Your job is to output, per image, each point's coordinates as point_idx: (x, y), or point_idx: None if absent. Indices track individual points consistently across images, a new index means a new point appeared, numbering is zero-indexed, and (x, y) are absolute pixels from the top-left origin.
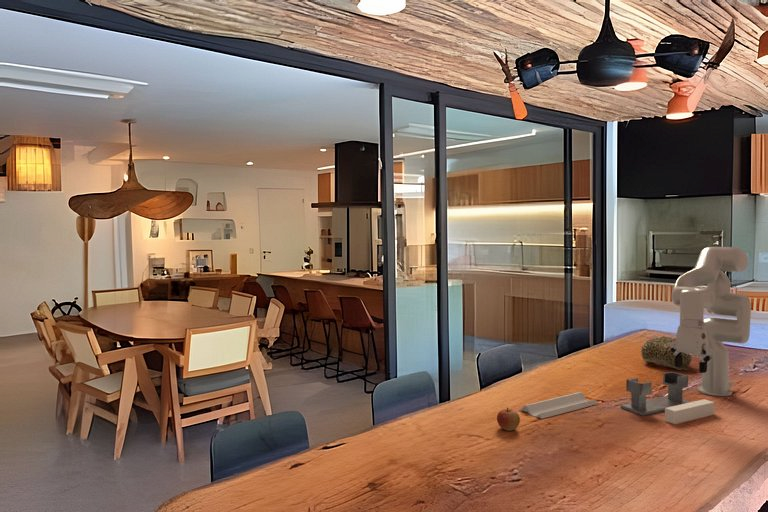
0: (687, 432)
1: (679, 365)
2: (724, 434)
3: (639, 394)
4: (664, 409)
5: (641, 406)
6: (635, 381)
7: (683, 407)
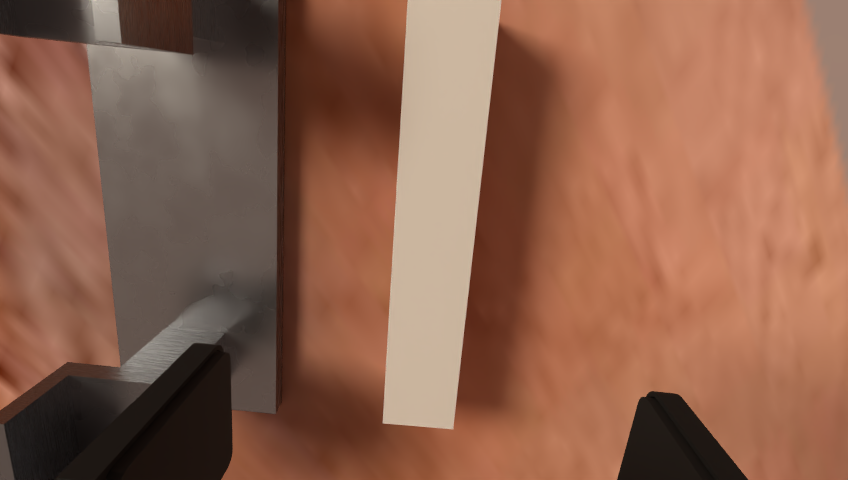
0: (551, 430)
1: (225, 421)
2: (686, 315)
3: None
4: (279, 239)
5: None
6: (30, 433)
7: (439, 325)
